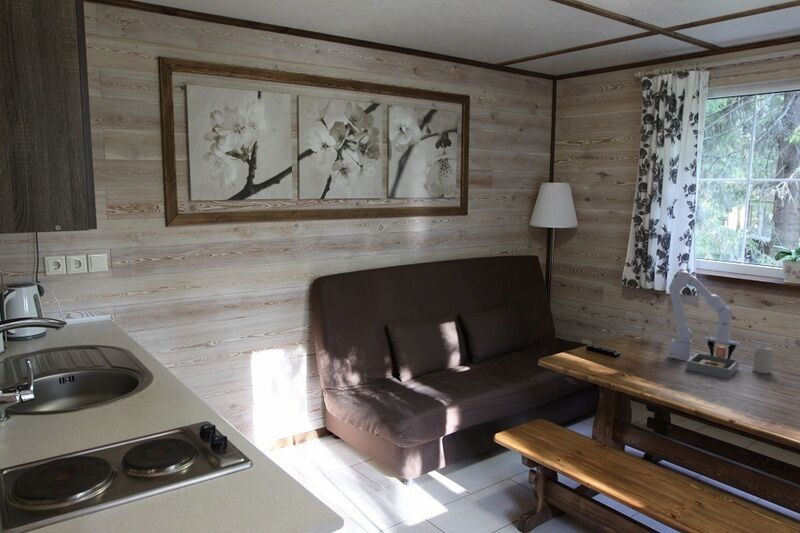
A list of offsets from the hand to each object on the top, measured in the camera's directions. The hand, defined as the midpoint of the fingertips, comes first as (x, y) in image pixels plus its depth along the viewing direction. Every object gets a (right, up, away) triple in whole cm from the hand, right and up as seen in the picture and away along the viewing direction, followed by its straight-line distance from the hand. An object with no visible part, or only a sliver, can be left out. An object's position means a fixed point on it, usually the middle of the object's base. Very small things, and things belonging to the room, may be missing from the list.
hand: (720, 358), depth 290 cm
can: (+13, -5, -12) cm, 18 cm away
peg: (0, -2, 0) cm, 2 cm away
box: (-10, -4, -11) cm, 15 cm away
